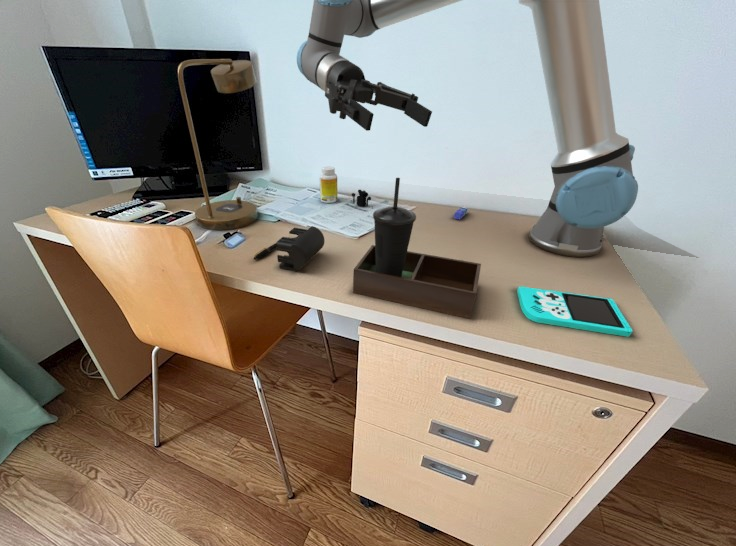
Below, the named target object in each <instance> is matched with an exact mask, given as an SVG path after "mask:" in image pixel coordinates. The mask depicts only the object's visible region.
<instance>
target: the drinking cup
mask: <svg viewBox="0 0 736 546" xmlns="http://www.w3.org/2000/svg"><path fill="white" fill-rule="evenodd" d="M400 181H401V178H400V177H396V178H395V182H394V183H395V184H394V194H393V195H394V196H393V204H392V205H391V206H384V207H382V208H379V209H377V210H374V212H373V213H372V219H373V220H374V245H375V254H376V272H378V273H383V274H388V275H393V276H398V277H401V276H402V272H403V267H404V263H405V259H406V254H407V251H409V250H408V249H409V245H410V241H411V236H412V233H413V232H412V231H413V228H414V224H415V222H416V220H417V214H416V213H415V212H414V211H412V210H410V209H408V208H405V207H402V206H399V205H398V204H399V203H398V202H399V192H400Z"/></svg>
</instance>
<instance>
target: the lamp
mask: <svg viewBox="0 0 736 546" xmlns="http://www.w3.org/2000/svg"><path fill="white" fill-rule="evenodd" d="M203 65H204V66H206V65H207V66H208V65H216V66H214V67H213V68H212V69H211V70H210V74H211V78H212V80H213V83H214V85H215V89H216V91H217V92H218V93H220V94H234V93H240V92H242V91H243V92H244V91H246V90H248V89H251V88H253V86H255V85H256V84H257V82H258V81H257V76H256V72H255V69H254V66H253V62H252V61H251V60H247V59H237V60H232V58H211V59H210V58H199V59H197V58H196V59H187V60H184V61H181V62H180V63H179V64H178V66H177V79H178V86H179V90H180V95H181V99H182V103H183V108H184V112H185V117H186V121H187V126H188V130H189V135H190V138H191V139H190V140H191V143H192V148H193V152H194V157H195V160H196V165H197V170H198V174H199V178H200V183H201V188H202V192H203V197H204V201H205V204H204V205H202V206H200V207H198V208H197V209H196V210H195V212H194V216H195V217H194V218H195V222H196V224H197V225H198V227H200V228H203V229H206V230H212V231H228V230H235V229H240V228H243V227H246V226H248V225H250V224H253V223H254V222H255V221H256V220H257V219H258V208H257V206H256V204H255V203H253V202H250V201H247V200H242V197H241V196H237V197H235V198H236V199H226V200H220V201H219V200H218V201H213V202H210V197H209V191H208V187H207V183H206V179H205V178H206V177H205V174H204V168H203V164H202V161H201V160H202V159H201V156H200V151H199V146H198V142H197V141H198V140H197V137H196V132H195V127H194V123H193V119H192V114H191V109H190V105H189V100H188V97H187V92H186V86H185V81H184V70H185V68H187V67H190V66H191V67H192V66H203Z"/></svg>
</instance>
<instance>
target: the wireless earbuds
mask: <svg viewBox="0 0 736 546" xmlns="http://www.w3.org/2000/svg"><path fill="white" fill-rule="evenodd" d="M357 193H358V195H357V196H356V193H355V192H352V193H351V197H353V198H352V203H353V204H355V203H356V205H357V206H358V207H361V208H365V207H368V206H369V201H371V200H372V197H371V196H369V193H368V192H367V191H366V190H362V189H357ZM355 198H356V199H355ZM355 200H356V201H355Z"/></svg>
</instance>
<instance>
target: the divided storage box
mask: <svg viewBox="0 0 736 546" xmlns="http://www.w3.org/2000/svg"><path fill="white" fill-rule="evenodd" d="M481 267H482V263H479V262H473V261H468V260H461V259H456V258H450V257H445V256H444V257H443V256H439V255H434V254H433V255H432V254H427V253H421V252H414V251H410V250H407V254H406V259H405V263H404V267H403V272H402V276H401V277H398V276H393V275H388V274H383V273H378V272H376V254H375V244H372V245H371V246H370V247H369V248H368V250H367V251H366V252H365V254H364V255H363V256H362V258H361V259H360V260H359V262H358V263H357V264H356V265H355V267H354V268H353V276H352V278H353V279H352V294H357V295H361V296H366V297H370V298H374V299H379V300H383V301H388V302H393V303H397V304H402V305H407V306H410V307H415V308H418V309H424V310H428V311H433V312H437V313H441V314H446V315H451V316H456V317H459V318H464V319H471V315H472V311H473V309H474V304H475V300H476V297H477V292H478V287H479V280H480V274H481Z"/></svg>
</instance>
